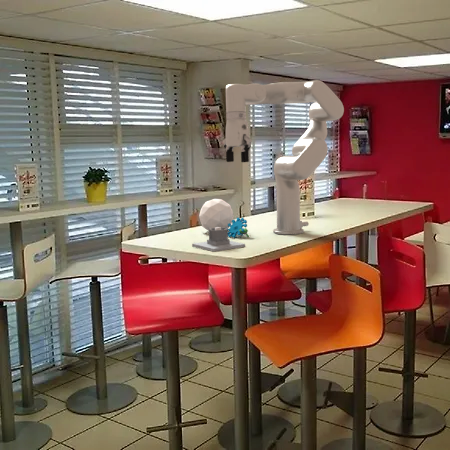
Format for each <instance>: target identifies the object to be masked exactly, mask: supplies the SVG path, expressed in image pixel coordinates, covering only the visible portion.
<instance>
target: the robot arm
mask: <svg viewBox="0 0 450 450" xmlns="http://www.w3.org/2000/svg"><path fill="white" fill-rule="evenodd" d="M308 103H311V105H310V106H309V109H308V117H309V126H308V127H307V129H306V131H305V132H304V133H303V134H302V135H301V136H300V137H299V138H298V140H297V141H295V143H294V144H293V146H292V149H291V153H292V155H283V156H280V157H278V158H277V159H276V160H275V162H274V166H273V172H274V173H273V174H274V178H275V184H276V185H275V187H276V228H274V229H273V230H272V231H273V234H276V235H299V234H300V235H301V234H303V233H305V229H303V227H308V226H309V222H308V221H302V220H301V198H300V197H301V189H300V185H299V181H304V180H307V179H308V178H310V177H311V175H312V174H313V173H315V171H316V170H317V169H318V168H319V166H320V165H321V164H322V162H323V161H324V160H325V159H326V157H327V155H328V151H329V150H328V144H327V142H326V138H327V136H328V125H327V122H330V121H331V122H332V121H338V120H339V119H341V118H342V117H343V115H344V112H345V108H344V105H343V102H342V101H341V99H340V98H339V97H338V96H337V95H336V94H335V93H334V92H333V90H332V89H331V88H330V87H329V86H328V85H327V84H325V82H323V81H322V80H319V79H313V80H309V81H308V80H307V81H281V82H280V81H279V82H272V83H268V84H261V83H257V82H256V83H250V84H247V83H246V84H243V83H230V84H227V85H226V86H225V109H226V110H225V114H226V116H225V117H226V124H225V138H224V139H223V140H222V143H223V148H224V151H225V159H226V161H225V162H227V163H231V162H232V163H233V162H234V161H235V157H234V156H235V155H234V154H235V153H234V151H233V150H234V148H237V147H238V148H239V147H240V150H241V152H240V158H241V159H240V161H241V163H249V162H250V160H249V159H250V156H249V152H251V151H250V149H251V145H252V142H253V140H252V139H251V138H250V129H249V123H248V120H247V108H246V107H247V105H250V106H251V105H285V104H286V105H287V104H308Z"/></svg>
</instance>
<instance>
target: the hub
mask: <svg viewBox="0 0 450 450" xmlns="http://www.w3.org/2000/svg"><path fill="white" fill-rule="evenodd" d="M228 229H229V228H228ZM228 229H227V228H221V230H215V228H210V229H209V231H208V240H209V241H226V240H229V237H228V232H229V231H228Z"/></svg>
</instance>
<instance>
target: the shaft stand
mask: <svg viewBox="0 0 450 450" xmlns="http://www.w3.org/2000/svg"><path fill="white" fill-rule="evenodd" d="M215 230H221V227H216V228H215ZM191 246H192V247H194V248H197V249H201V250H202V249H203V250H204V251H205V250H206V251H210V252H219V251H226V250H231V249H232V250H234V249H240V248H245V247H246V244H245V243H242V242H237V241H233V240H230V239H228V240H226V241H209V239H206V241H202V242H194V243H191Z"/></svg>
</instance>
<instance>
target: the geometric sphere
mask: <svg viewBox="0 0 450 450" xmlns="http://www.w3.org/2000/svg"><path fill="white" fill-rule="evenodd" d="M199 211H200V212H199V215H198V218H199V221H200V223H201V227H203V228H204V229H206V230H207V231H208V232H209V229H210V228H216V227H221V228H228V229H229V228H230V227H229V226H228V224H229V223H230V224H231V225H232V220H234V211H233V209H232V205H231V204H229V203H228V202H227V201H225V200H223V199H221V198H213V199H210V200H207V201H205V202H204V203H203V204H202V207H201V209H200V210H199Z"/></svg>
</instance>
